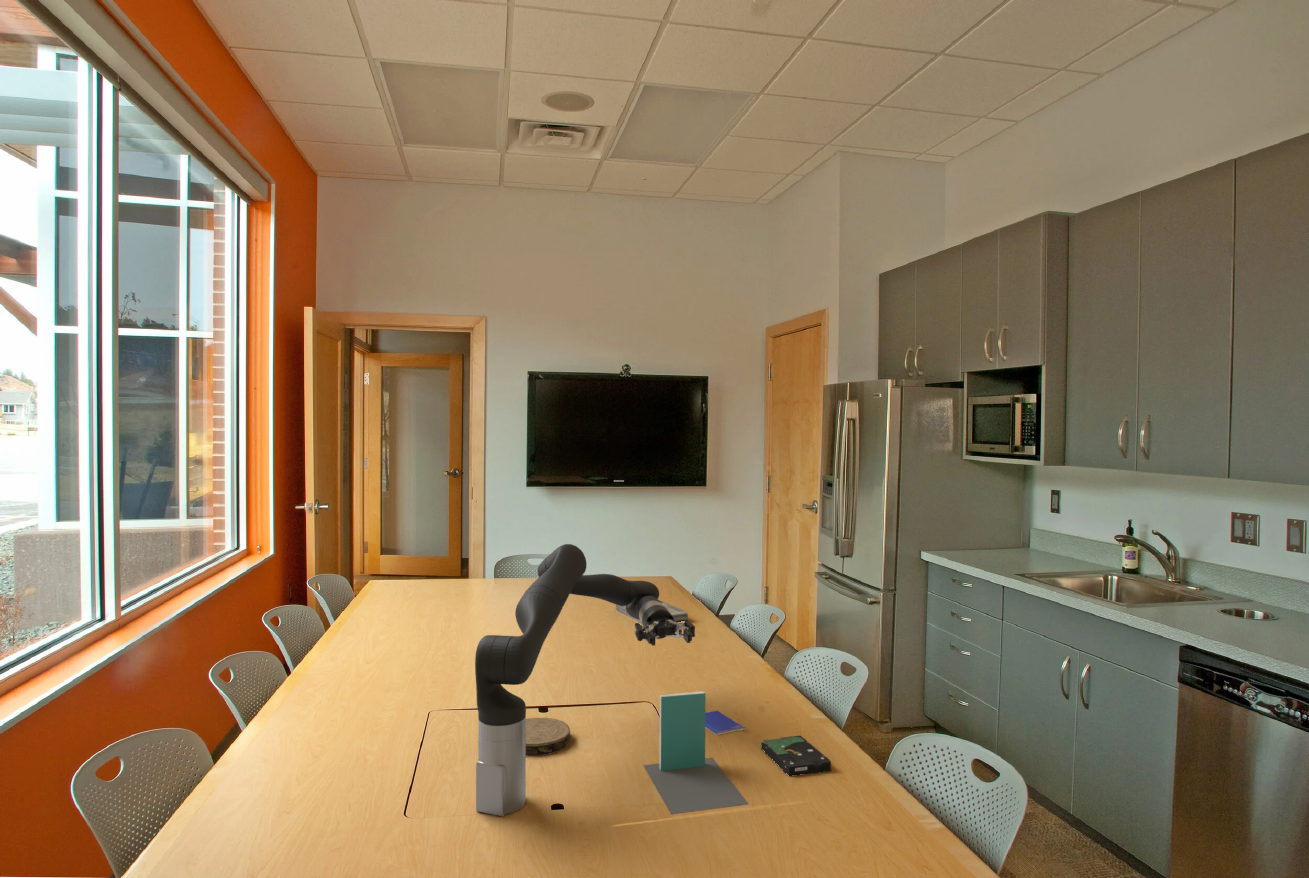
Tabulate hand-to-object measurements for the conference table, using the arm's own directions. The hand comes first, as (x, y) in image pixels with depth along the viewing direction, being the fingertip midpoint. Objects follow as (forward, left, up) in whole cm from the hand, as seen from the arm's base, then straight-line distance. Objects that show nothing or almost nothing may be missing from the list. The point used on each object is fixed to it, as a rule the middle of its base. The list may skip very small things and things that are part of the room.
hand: (671, 640), depth 182 cm
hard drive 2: (+15, -7, -25) cm, 30 cm away
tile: (-12, -7, -24) cm, 28 cm away
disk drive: (+2, -29, -25) cm, 38 cm away
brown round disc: (-11, +30, -25) cm, 41 cm away
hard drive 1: (+109, +48, -25) cm, 122 cm away
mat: (-18, -12, -24) cm, 33 cm away
